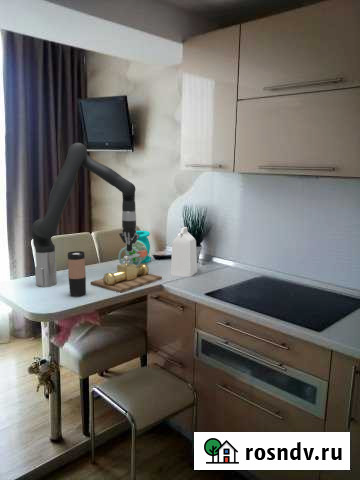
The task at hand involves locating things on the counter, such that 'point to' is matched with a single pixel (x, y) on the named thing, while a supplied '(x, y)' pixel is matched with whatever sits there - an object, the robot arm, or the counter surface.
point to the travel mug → (77, 273)
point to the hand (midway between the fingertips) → (129, 250)
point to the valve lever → (137, 254)
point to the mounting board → (128, 283)
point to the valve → (138, 249)
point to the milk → (184, 254)
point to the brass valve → (125, 273)
